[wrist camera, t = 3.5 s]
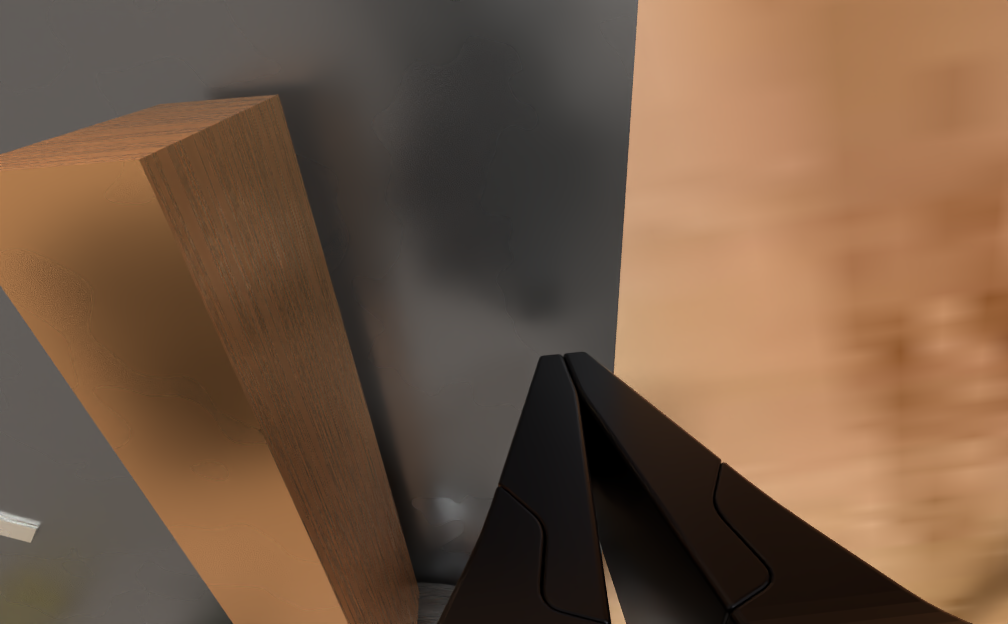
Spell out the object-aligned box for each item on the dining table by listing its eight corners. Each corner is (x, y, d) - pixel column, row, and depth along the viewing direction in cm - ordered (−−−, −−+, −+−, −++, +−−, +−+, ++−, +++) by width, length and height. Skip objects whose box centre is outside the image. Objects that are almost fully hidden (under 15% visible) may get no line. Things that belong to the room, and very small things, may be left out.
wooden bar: (527, 683, 17) (544, 856, 14) (327, 707, 17) (294, 890, 14) (473, 75, 7) (487, 141, 4) (-25, 116, 7) (-540, 229, 3)
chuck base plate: (589, 637, 18) (595, 664, 18) (100, 696, 18) (84, 727, 17) (625, -56, 7) (645, -64, 7) (-649, 38, 7) (-787, 42, 6)
